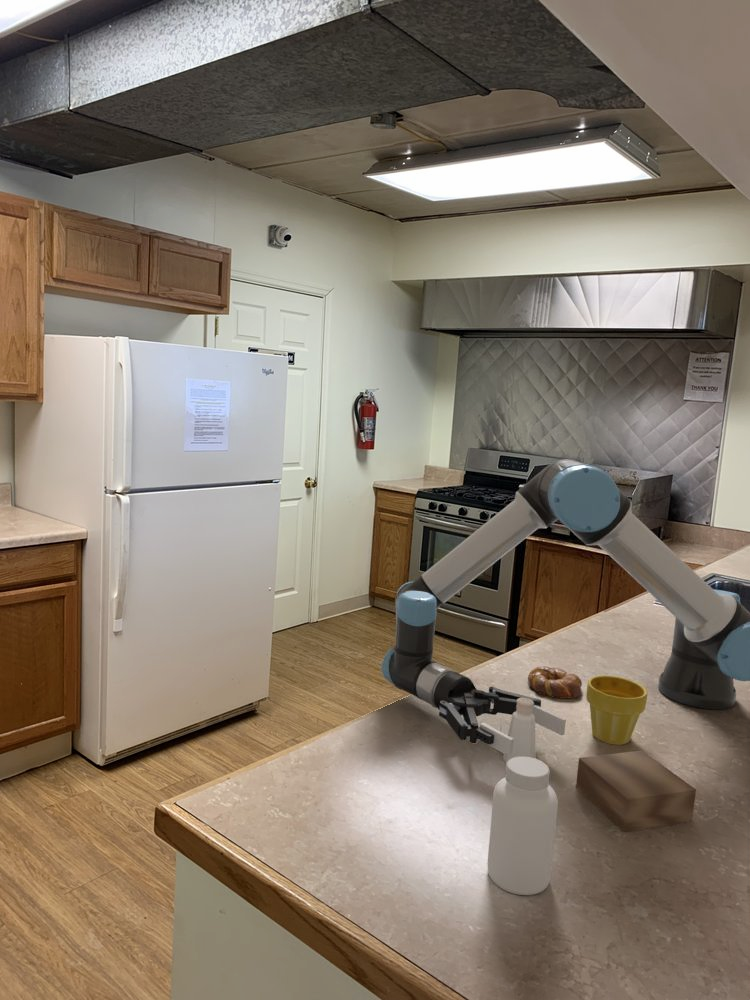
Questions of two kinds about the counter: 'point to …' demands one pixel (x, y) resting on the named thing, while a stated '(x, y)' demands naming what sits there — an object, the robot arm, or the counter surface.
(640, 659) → the counter surface
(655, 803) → the walnut base
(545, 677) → the braided bread ring
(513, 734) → the pepper shaker
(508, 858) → the pill bottle
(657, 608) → the counter surface
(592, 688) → the plant pot
